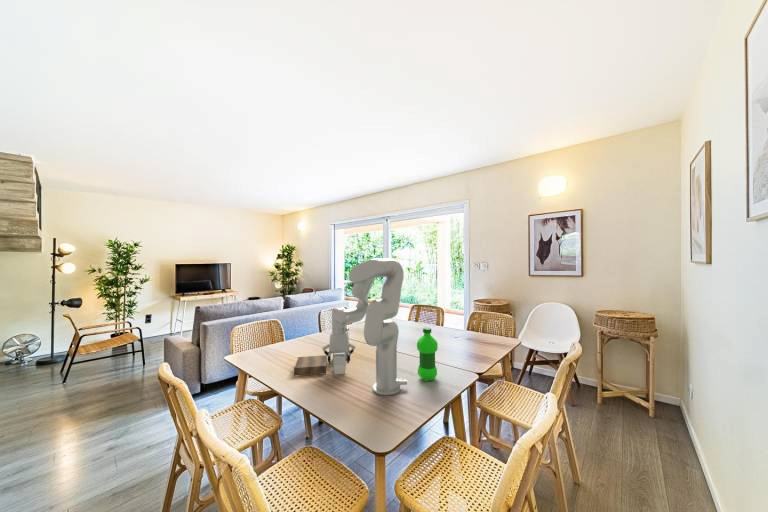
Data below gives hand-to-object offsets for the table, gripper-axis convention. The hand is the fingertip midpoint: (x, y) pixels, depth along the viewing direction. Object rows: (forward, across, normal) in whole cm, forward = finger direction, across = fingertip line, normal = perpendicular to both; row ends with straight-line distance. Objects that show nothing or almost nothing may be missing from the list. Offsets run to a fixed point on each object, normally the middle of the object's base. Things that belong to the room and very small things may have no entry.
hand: (338, 362), depth 149 cm
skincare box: (+5, -1, -20) cm, 20 cm away
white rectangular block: (+5, 0, 0) cm, 5 cm away
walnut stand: (+5, +15, -7) cm, 17 cm away
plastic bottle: (+4, -43, +17) cm, 47 cm away
